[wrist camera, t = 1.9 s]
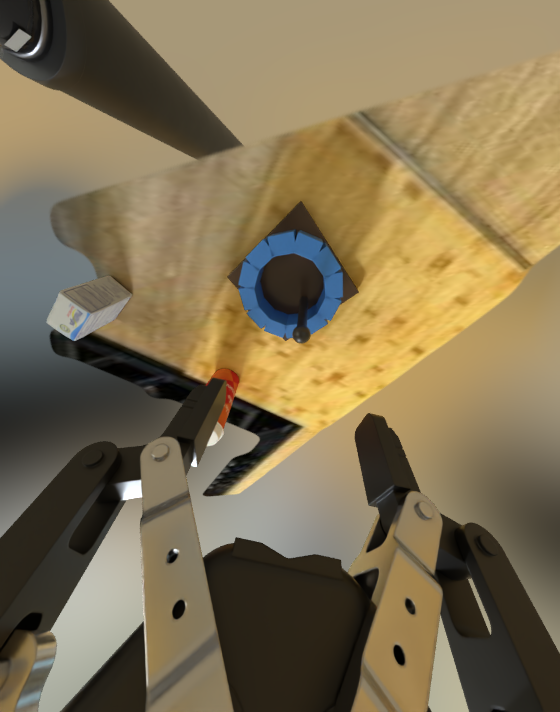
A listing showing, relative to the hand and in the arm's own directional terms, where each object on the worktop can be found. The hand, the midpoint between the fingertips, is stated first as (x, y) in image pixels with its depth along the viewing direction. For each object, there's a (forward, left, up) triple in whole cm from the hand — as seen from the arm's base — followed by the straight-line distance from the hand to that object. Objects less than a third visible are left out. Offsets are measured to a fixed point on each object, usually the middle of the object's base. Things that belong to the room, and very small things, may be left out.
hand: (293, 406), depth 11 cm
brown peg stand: (-1, -1, -24) cm, 24 cm away
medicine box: (-19, -28, -24) cm, 42 cm away
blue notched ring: (-1, -1, -23) cm, 23 cm away
